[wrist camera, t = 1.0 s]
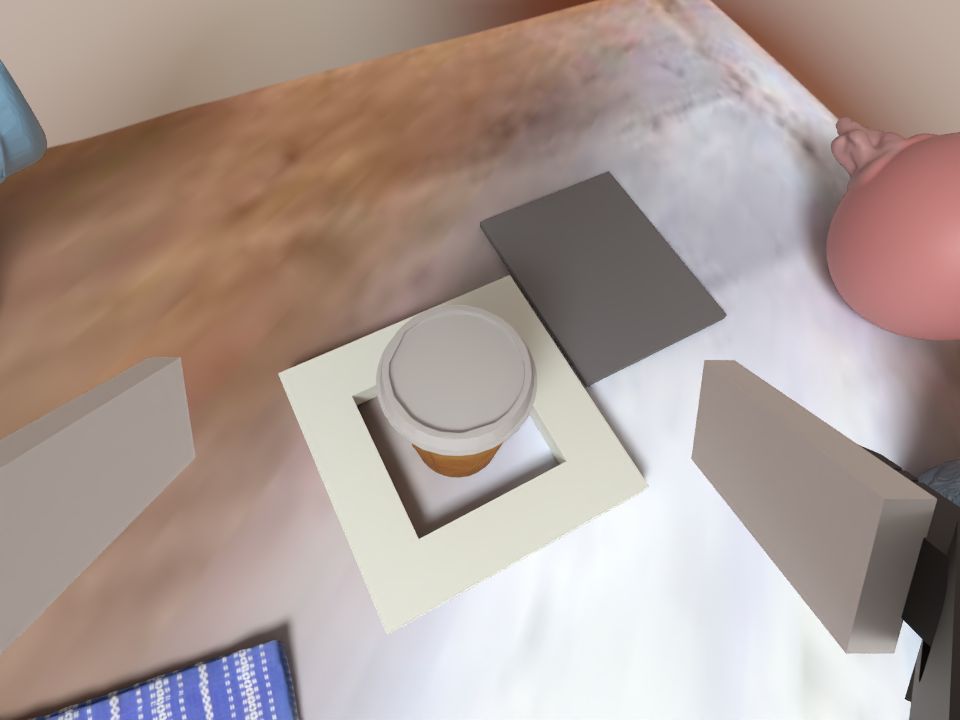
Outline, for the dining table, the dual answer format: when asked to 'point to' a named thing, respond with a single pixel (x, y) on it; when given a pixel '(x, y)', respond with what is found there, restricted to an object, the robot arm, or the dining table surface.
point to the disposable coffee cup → (456, 386)
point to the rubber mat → (600, 276)
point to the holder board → (486, 530)
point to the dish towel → (203, 692)
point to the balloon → (898, 230)
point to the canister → (944, 480)
